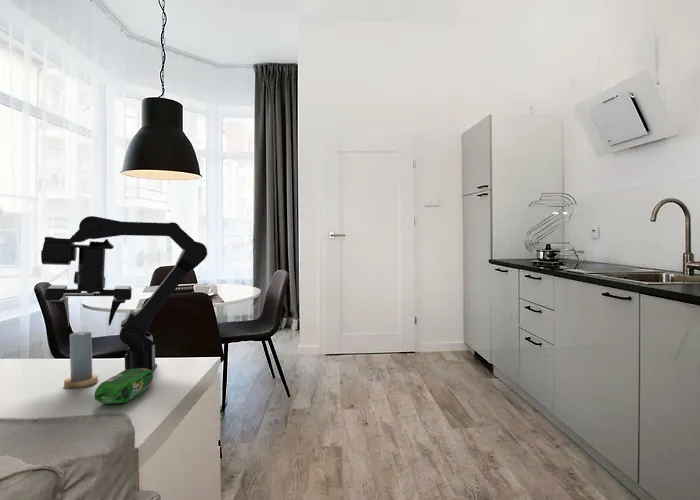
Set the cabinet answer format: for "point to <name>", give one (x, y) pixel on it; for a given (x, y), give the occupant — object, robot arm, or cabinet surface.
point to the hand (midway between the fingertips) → (89, 325)
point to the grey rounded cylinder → (81, 356)
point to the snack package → (124, 386)
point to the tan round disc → (80, 382)
